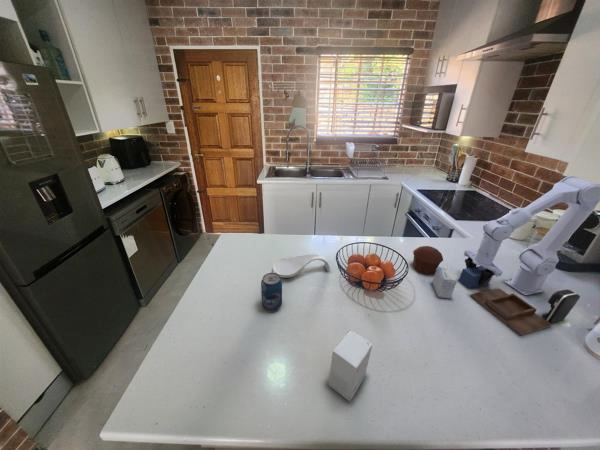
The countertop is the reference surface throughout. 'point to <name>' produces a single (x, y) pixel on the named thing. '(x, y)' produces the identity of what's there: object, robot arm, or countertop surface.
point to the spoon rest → (296, 264)
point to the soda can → (271, 292)
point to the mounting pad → (511, 311)
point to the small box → (349, 364)
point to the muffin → (426, 259)
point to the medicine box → (444, 282)
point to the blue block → (472, 277)
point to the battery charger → (560, 305)
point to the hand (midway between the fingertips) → (474, 279)
